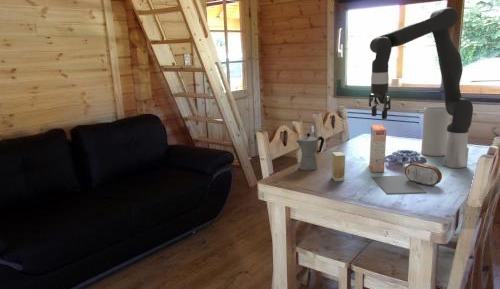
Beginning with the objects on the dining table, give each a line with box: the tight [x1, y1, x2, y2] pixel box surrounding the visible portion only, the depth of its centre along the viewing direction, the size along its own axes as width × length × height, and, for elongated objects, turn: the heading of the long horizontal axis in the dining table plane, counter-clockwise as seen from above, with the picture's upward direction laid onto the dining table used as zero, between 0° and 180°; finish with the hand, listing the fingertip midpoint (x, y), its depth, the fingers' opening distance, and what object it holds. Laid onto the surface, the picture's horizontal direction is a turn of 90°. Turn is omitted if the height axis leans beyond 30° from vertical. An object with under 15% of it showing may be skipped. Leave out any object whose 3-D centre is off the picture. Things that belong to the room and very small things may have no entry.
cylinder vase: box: [421, 106, 451, 157], centre depth 214 cm, size 12×12×25 cm
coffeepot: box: [296, 132, 325, 171], centre depth 199 cm, size 15×9×18 cm, turn 110°
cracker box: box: [369, 124, 387, 173], centre depth 193 cm, size 14×6×21 cm, turn 168°
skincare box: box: [331, 151, 346, 182], centre depth 181 cm, size 6×4×12 cm
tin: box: [404, 161, 443, 187], centre depth 171 cm, size 15×3×8 cm, turn 45°
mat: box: [371, 174, 428, 195], centre depth 172 cm, size 16×22×1 cm
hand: (379, 117), depth 184 cm, fingers open, 8 cm apart
